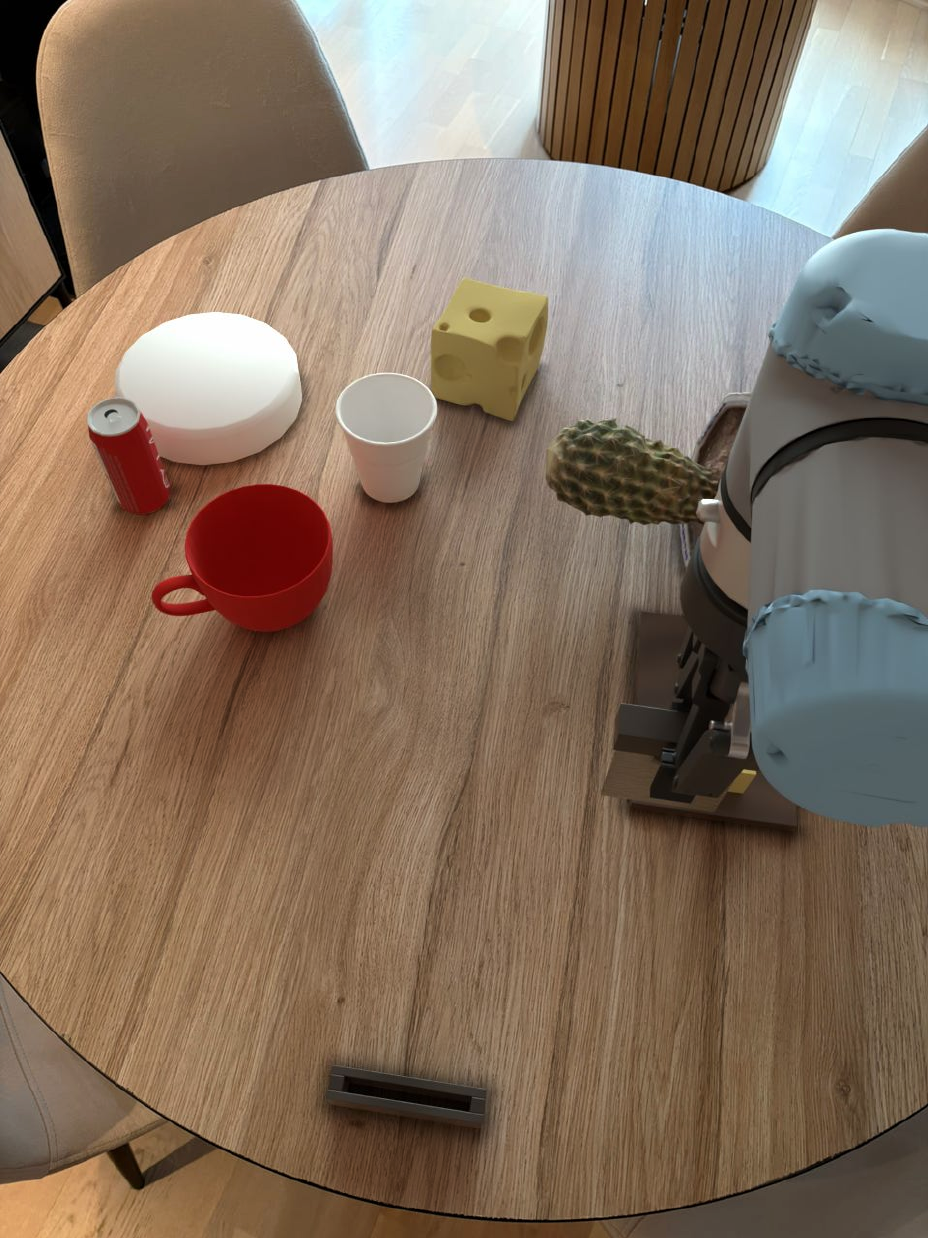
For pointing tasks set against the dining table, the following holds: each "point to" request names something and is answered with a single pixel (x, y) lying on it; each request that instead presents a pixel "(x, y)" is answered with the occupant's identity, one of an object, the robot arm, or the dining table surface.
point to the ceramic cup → (255, 558)
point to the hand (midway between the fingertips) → (671, 774)
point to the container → (212, 386)
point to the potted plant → (643, 470)
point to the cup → (387, 432)
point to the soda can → (128, 455)
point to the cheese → (488, 346)
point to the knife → (648, 755)
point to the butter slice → (742, 781)
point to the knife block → (407, 1084)
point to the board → (656, 690)
